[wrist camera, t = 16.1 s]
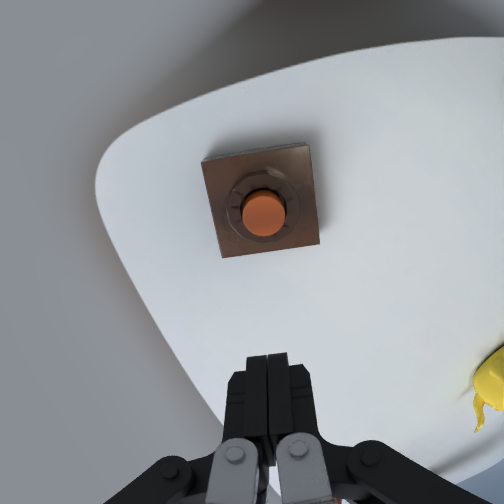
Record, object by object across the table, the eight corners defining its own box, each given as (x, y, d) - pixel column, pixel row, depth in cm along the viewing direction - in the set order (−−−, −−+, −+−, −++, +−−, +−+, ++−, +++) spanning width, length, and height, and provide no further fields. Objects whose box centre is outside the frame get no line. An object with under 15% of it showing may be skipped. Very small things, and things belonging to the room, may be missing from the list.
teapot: (482, 343, 42) (509, 384, 33) (530, 331, 41) (556, 364, 32) (456, 396, 48) (474, 435, 39) (503, 382, 47) (522, 415, 38)
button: (240, 193, 28) (238, 199, 27) (280, 186, 28) (282, 193, 26) (247, 230, 30) (246, 239, 28) (285, 224, 30) (287, 233, 28)
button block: (204, 158, 31) (197, 165, 27) (305, 142, 30) (312, 147, 26) (224, 249, 35) (220, 267, 31) (316, 235, 34) (323, 252, 30)
